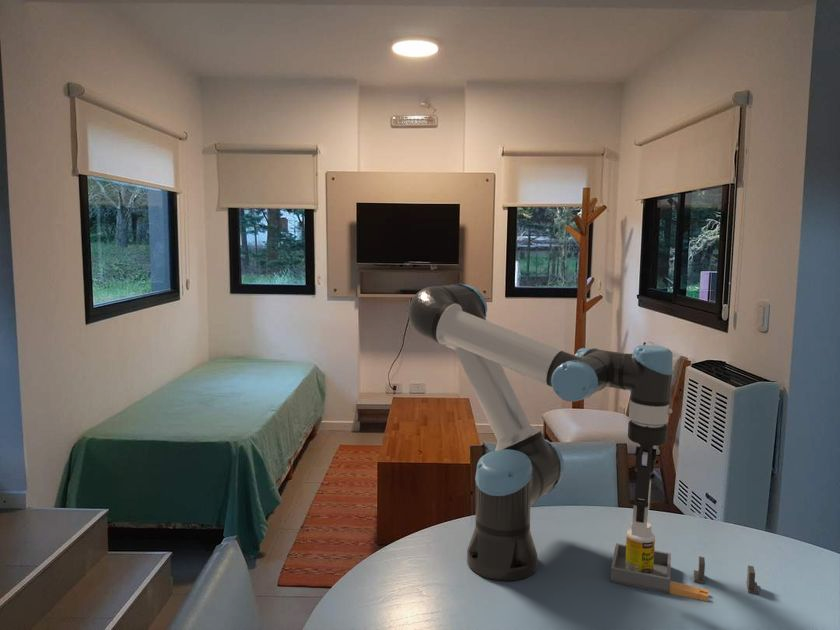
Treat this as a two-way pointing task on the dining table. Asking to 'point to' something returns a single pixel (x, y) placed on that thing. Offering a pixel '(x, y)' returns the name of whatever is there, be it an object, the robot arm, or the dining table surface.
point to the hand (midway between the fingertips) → (640, 521)
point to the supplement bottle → (640, 551)
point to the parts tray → (638, 579)
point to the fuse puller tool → (688, 591)
